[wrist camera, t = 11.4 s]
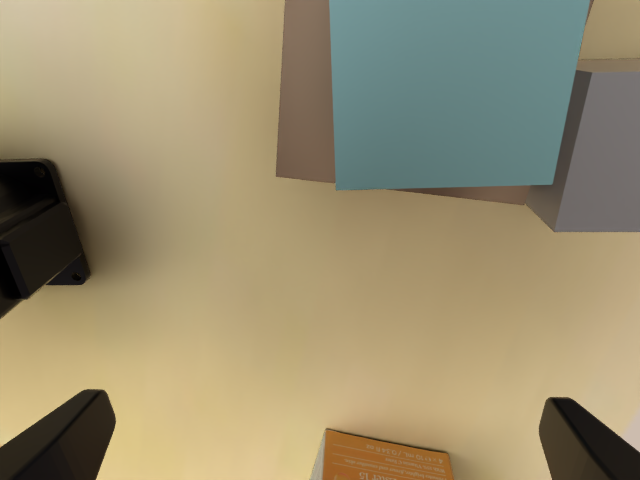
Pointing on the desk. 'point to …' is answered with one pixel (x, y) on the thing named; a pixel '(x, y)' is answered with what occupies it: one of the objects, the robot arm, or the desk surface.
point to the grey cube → (597, 153)
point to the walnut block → (330, 107)
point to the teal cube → (451, 90)
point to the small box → (376, 460)
